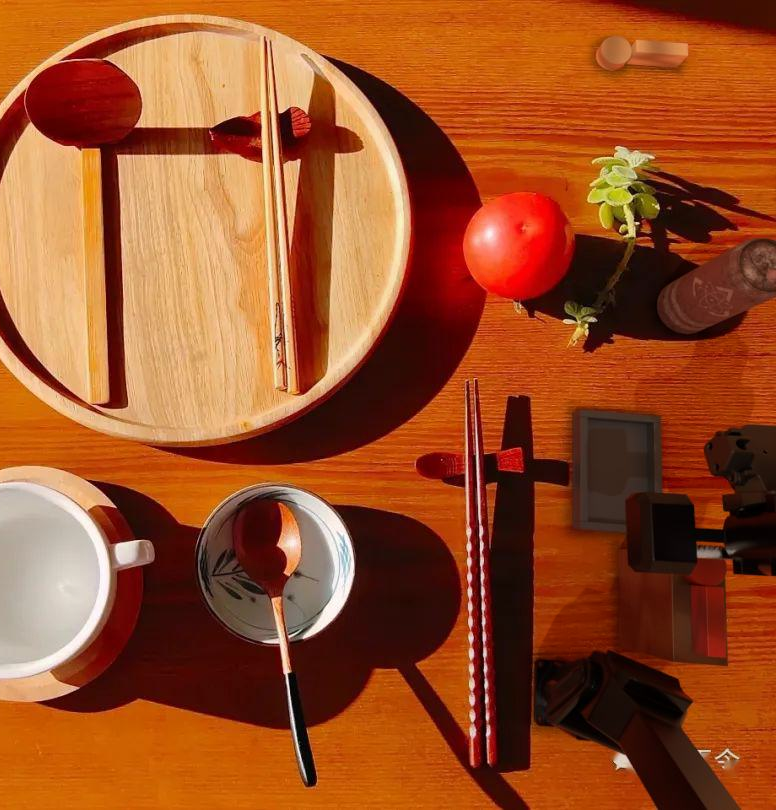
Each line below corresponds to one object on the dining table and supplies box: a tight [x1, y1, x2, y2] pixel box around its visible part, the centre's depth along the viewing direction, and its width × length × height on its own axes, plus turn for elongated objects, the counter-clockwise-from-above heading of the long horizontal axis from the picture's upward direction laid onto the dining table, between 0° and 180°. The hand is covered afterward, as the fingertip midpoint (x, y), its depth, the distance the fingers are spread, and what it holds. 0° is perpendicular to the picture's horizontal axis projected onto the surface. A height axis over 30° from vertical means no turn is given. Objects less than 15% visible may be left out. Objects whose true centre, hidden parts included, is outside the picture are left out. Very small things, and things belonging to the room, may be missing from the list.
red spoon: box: [683, 545, 728, 658], centre depth 69 cm, size 10×4×2 cm, turn 176°
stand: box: [617, 548, 729, 667], centre depth 75 cm, size 10×5×10 cm, turn 176°
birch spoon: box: [595, 35, 689, 72], centre depth 90 cm, size 10×4×2 cm, turn 86°
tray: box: [571, 409, 663, 534], centre depth 81 cm, size 13×9×2 cm
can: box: [656, 237, 776, 335], centre depth 79 cm, size 6×6×14 cm
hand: (688, 539), depth 68 cm, fingers open, 9 cm apart
